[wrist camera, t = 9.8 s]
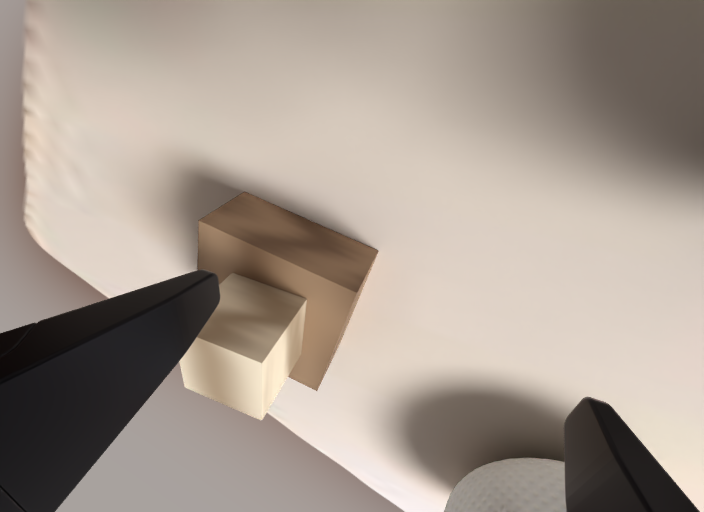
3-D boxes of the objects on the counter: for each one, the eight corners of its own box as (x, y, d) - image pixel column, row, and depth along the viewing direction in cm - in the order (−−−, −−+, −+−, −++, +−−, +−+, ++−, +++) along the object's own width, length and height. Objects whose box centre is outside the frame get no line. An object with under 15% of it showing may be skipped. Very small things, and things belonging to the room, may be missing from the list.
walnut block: (379, 248, 23) (356, 293, 19) (340, 341, 29) (317, 390, 25) (247, 190, 24) (198, 220, 20) (235, 291, 30) (196, 331, 26)
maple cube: (306, 299, 20) (262, 363, 16) (301, 354, 23) (261, 420, 19) (232, 272, 21) (172, 327, 17) (235, 328, 24) (184, 387, 20)
